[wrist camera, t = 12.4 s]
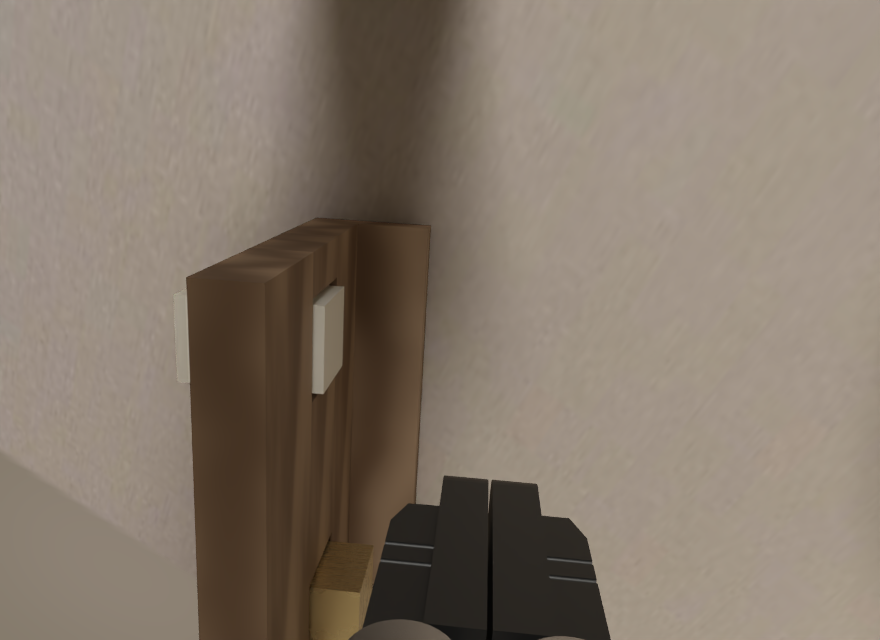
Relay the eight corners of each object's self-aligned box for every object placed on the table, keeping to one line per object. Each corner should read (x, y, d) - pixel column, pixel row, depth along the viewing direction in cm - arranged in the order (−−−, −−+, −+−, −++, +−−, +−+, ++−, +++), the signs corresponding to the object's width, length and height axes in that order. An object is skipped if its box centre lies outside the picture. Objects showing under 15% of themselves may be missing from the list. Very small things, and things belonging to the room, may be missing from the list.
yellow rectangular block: (252, 597, 44) (225, 649, 40) (251, 533, 43) (223, 579, 38) (371, 609, 44) (357, 663, 39) (373, 545, 42) (359, 592, 38)
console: (311, 565, 52) (205, 817, 33) (316, 217, 45) (186, 277, 26) (411, 575, 52) (363, 836, 32) (430, 225, 45) (384, 292, 26)
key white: (212, 354, 40) (177, 382, 36) (209, 276, 39) (173, 294, 34) (342, 365, 40) (323, 394, 35) (344, 286, 38) (324, 306, 34)
